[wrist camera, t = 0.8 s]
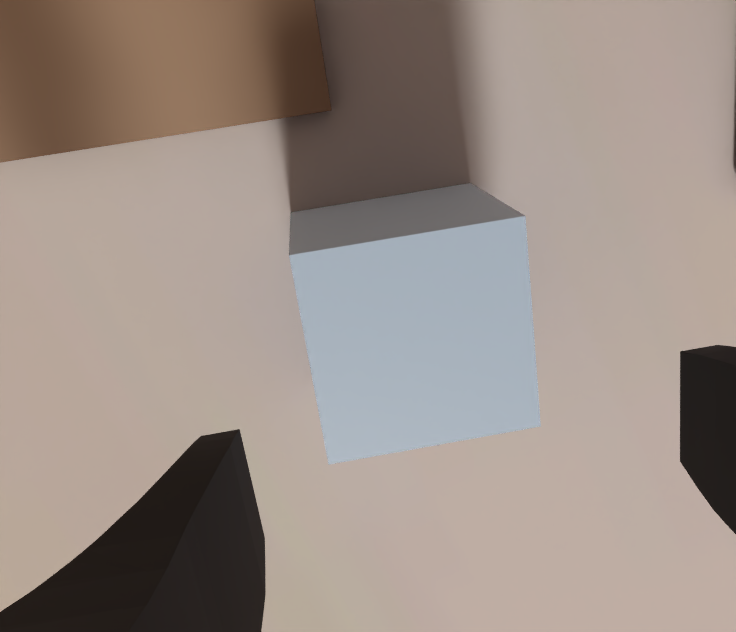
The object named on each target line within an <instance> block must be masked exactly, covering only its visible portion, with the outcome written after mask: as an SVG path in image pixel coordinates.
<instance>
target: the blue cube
mask: <svg viewBox="0 0 736 632" xmlns="http://www.w3.org/2000/svg"><path fill="white" fill-rule="evenodd" d="M289 257H290V263H291V268H292V273H293V279H294V284H295V289H296V294H297V300H298V305H299V310H300V316H301V321H302V326H303V332H304V337H305V342H306V347H307V353H308V358H309V363H310V369H311V374H312V379H313V384H314V390H315V395H316V400H317V406H318V411H319V416H320V422H321V427H322V432H323V437H324V443H325V448H326V453H327V459H328V464H334V463H340V462H346V461H351V460H357V459H362V458H368V457H373V456H379V455H384V454H390V453H396V452H401V451H407V450H412V449H418V448H423V447H429V446H434V445H440V444H446V443H451V442H457V441H462V440H468V439H473V438H479V437H484V436H490V435H496V434H501V433H507V432H512V431H518V430H523V429H529V428H534V427H540V426H541V424H540V410H539V397H538V383H537V369H536V355H535V342H534V328H533V314H532V301H531V287H530V273H529V259H528V246H527V232H526V218H525V215H523V214H521V213H520V212H518V211H516V210H515V209H513V208H511V207H510V206H508V205H506V204H505V203H503V202H501V201H500V200H498V199H496V198H495V197H493V196H491V195H490V194H488V193H486V192H485V191H483V190H481V189H480V188H478V187H476V186H475V185H473V184H471V183H467V184H461V185H455V186H449V187H443V188H437V189H431V190H425V191H418V192H412V193H406V194H400V195H394V196H388V197H382V198H376V199H370V200H363V201H357V202H351V203H345V204H339V205H333V206H327V207H321V208H315V209H309V210H302V211H296V212H291V217H290V244H289Z"/></svg>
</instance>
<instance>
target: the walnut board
mask: <svg viewBox="0 0 736 632" xmlns="http://www.w3.org/2000/svg"><path fill="white" fill-rule="evenodd" d="M330 110H331V104H330V98H329V92H328V85H327V79H326V73H325V66H324V60H323V53H322V47H321V41H320V34H319V28H318V22H317V15H316V9H315V2H314V0H0V162H6V161H12V160H19V159H25V158H31V157H38V156H44V155H51V154H57V153H63V152H70V151H76V150H82V149H89V148H95V147H101V146H108V145H114V144H120V143H127V142H133V141H140V140H146V139H152V138H159V137H165V136H171V135H178V134H184V133H190V132H197V131H203V130H209V129H216V128H222V127H229V126H235V125H241V124H248V123H254V122H260V121H267V120H273V119H279V118H286V117H292V116H298V115H305V114H311V113H318V112H324V111H330Z"/></svg>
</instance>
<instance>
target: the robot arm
mask: <svg viewBox="0 0 736 632" xmlns="http://www.w3.org/2000/svg"><path fill="white" fill-rule="evenodd" d="M680 462H681V463H682V465H683V466H684V468H685V469H686V471H687V472H688V474H689V475H690V477H691V478H692V480H693V481H694V483H695V485H696V486H697V488H698V489H699V490H700V492H701V493H702V495H703V496H704V497H705V499H706V500H707V501H708V503H709V504H710V506H711V507H712V508H713V510H714V511H715V512H716V513H717V514H718V515H719V516H720V518H721V519H722V520H723V521H724V522H725V523H726V524H727V525H728V526H729V528H730V529H731V530H732V531H733V532H734V533H735V534H736V347H731V346H721V345H715V346H709V347H703V348H698V349H692V350H686V351H681V352H680ZM264 602H265V537H264V533H263V529H262V524H261V520H260V516H259V511H258V507H257V503H256V498H255V494H254V490H253V485H252V481H251V477H250V473H249V468H248V464H247V460H246V455H245V451H244V447H243V442H242V438H241V434H240V429H239V430H233V431H227V432H222V433H216V434H210V435H205V436H201V437H200V438H198V439H197V440H196V441H195V442H194V443H193V444H192V445H191V446H190V447H189V448H188V449H187V450H186V451H185V452H184V453H183V454H182V456H181V457H180V458H179V459H178V460H177V461H176V462H175V463H174V464H173V465H172V466H171V467H170V468H169V469H168V471H167V472H166V473H165V474H164V475H163V476H162V477H161V478H160V479H159V480H158V481H157V482H156V483H155V484H154V485H153V486H152V487H151V488H150V489H149V490H148V491H147V492H146V493H145V495H144V496H143V497H142V498H141V499H140V500H139V501H138V502H137V503H136V504H134V505H133V506H132V507H131V508H130V509H129V510H128V511H127V512H126V513H125V514H124V515H123V516H122V517H121V518H120V519H118V520H117V521H116V522H115V523H114V524H113V525H112V526H111V527H110V528H109V529H108V530H107V531H106V532H105V533H104V534H102V535H101V536H100V537H99V538H98V539H97V540H96V541H95V542H94V543H92V544H91V545H90V546H89V547H88V548H87V549H85V550H84V551H83V552H82V553H81V554H79V555H78V556H77V557H76V558H75V559H73V560H72V561H71V562H70V563H68V564H67V565H66V566H64V567H63V568H62V569H60V570H59V571H58V572H57V573H55V574H54V575H53V576H51V577H50V578H49V579H47V580H46V581H45V582H44V583H42V584H41V585H39V586H38V587H37V588H35V589H34V590H33V591H31V592H30V593H28V594H27V595H25V596H24V597H22V598H21V599H19V600H18V601H16V602H15V603H13V604H12V605H10V606H9V607H7V608H6V609H4V610H3V611H1V612H0V632H261V628H262V620H263V611H264Z"/></svg>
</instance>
